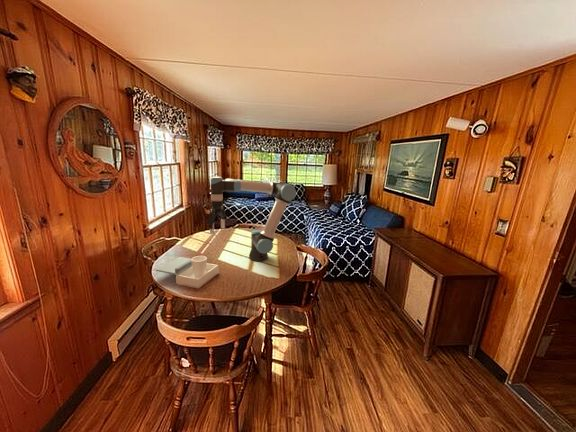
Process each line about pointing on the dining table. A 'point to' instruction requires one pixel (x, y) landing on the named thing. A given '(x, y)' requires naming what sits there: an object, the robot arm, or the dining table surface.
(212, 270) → the box
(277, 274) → the dining table surface
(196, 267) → the foam cup
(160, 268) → the lid
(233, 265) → the dining table surface
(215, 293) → the dining table surface
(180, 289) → the dining table surface
